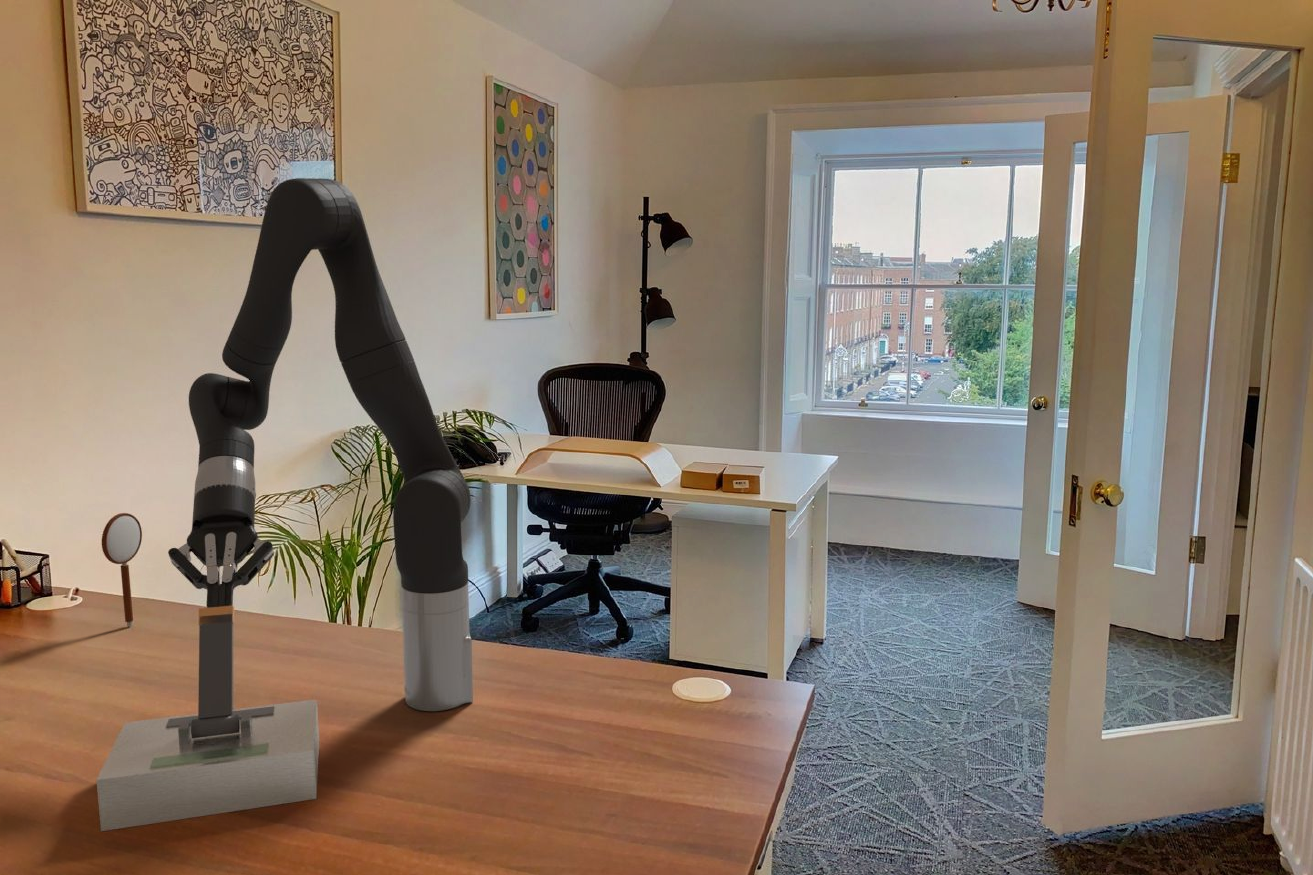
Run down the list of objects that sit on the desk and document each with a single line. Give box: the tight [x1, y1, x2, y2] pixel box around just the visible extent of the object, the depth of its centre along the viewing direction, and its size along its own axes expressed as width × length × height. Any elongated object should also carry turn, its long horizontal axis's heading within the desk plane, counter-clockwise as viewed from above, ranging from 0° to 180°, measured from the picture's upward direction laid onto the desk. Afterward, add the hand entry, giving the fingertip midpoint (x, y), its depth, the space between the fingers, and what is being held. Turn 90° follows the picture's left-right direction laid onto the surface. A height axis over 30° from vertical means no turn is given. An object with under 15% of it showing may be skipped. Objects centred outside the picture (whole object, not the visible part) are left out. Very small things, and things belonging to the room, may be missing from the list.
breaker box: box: [95, 699, 320, 832], centre depth 111 cm, size 22×14×8 cm, turn 108°
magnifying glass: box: [101, 512, 143, 627], centre depth 160 cm, size 9×2×20 cm, turn 170°
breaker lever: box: [191, 605, 240, 738], centre depth 113 cm, size 5×2×15 cm, turn 108°
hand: (219, 614), depth 117 cm, fingers closed
